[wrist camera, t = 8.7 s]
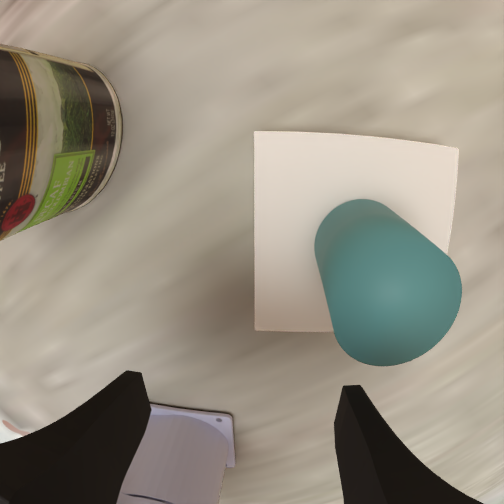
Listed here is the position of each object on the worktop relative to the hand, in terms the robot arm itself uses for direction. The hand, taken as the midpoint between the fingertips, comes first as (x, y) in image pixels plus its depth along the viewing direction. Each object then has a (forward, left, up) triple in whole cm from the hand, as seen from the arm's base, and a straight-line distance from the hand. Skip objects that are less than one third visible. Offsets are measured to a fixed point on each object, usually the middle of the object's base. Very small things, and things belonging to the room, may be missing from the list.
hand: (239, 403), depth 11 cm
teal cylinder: (+5, +4, -6) cm, 9 cm away
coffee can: (-13, +10, -10) cm, 19 cm away
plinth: (+5, +4, -9) cm, 11 cm away
